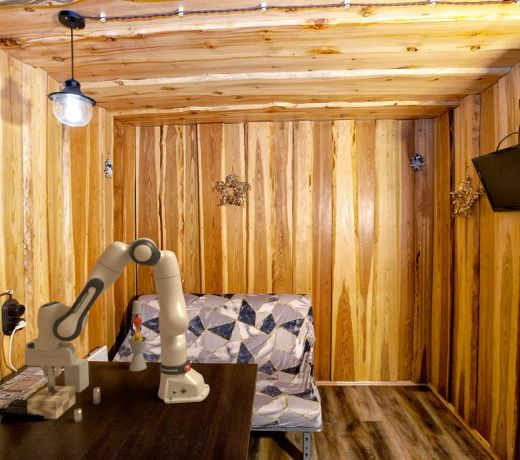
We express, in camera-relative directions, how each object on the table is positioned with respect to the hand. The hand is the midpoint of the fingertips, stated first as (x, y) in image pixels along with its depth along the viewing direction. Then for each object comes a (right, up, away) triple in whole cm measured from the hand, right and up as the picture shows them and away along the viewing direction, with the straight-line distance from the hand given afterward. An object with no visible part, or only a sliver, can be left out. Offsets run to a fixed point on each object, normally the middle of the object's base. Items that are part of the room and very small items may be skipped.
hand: (51, 375), depth 143 cm
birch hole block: (0, -14, 0) cm, 14 cm away
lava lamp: (+21, -13, +41) cm, 48 cm away
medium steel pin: (+16, -14, +6) cm, 22 cm away
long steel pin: (0, -6, 0) cm, 6 cm away
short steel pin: (+14, -14, -7) cm, 21 cm away
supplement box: (+1, -14, +18) cm, 23 cm away
